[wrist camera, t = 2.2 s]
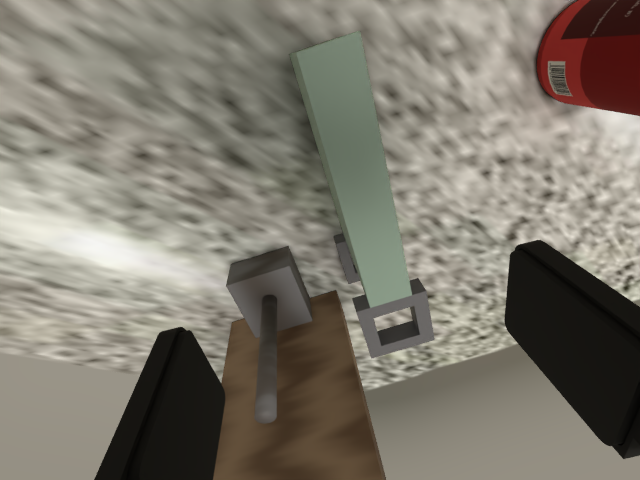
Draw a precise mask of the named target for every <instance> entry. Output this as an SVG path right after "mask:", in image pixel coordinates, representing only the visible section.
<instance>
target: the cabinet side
mask: <svg viewBox="0 0 640 480" xmlns="http://www.w3.org/2000/svg"><path fill="white" fill-rule="evenodd" d="M226 286H227V288H228V290H229V292H230V293H231V295H232V297H233V299H234V301H235V302H236V304H237V306H238V308H239V309H240V311H241V313H242V315H243V316H244V318H245V319H241V320H238V321H235V322H232V326H231V331H230V337H229V343H228V348H227V354H226V360H225V366H224V371H223V377H222V383H221V385H222V386H223V388H224V391H225V407H224V413H223V420H222V426H221V432H220V439H219V445H218V451H217V458H216V464H215V470H214V477H213V480H386V477H385V473H384V470H383V465H382V461H381V458H380V454H379V450H378V446H377V442H376V438H375V434H374V430H373V426H372V422H371V418H370V414H369V410H368V407H367V403H366V399H365V395H364V391H363V387H362V383H361V379H360V375H359V371H358V367H357V363H356V359H355V355H354V351H353V347H352V343H351V340H350V336H349V332H348V328H347V324H346V320H345V316H344V312H343V309H342V306H341V303H340V300H339V297H338V294H337V291H332V292H329V293H326V294H323V295H319V296H316V297H313V298H309V295H308V293H307V290H306V288H305V286H304V283H303V281H302V278H301V276H300V273H299V271H298V268H297V266H296V264H295V261H294V259H293V256H292V254H291V251H290V249H289V246H288V247H284V248H281V249H278V250H275V251H272V252H269V253H265V254H262V255H259V256H256V257H253V258H250V259H247V260H243V261H240V262H237V263H234V264H231V267H230V271H229V276H228V280H227V284H226Z"/></svg>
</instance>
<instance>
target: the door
mask: <svg viewBox="0 0 640 480" xmlns="http://www.w3.org/2000/svg"><path fill="white" fill-rule="evenodd" d="M289 55H290V58H291V62H292V65H293V68H294V72H295V75H296V78H297V82H298V85H299V88H300V92H301V95H302V98H303V102H304V105H305V108H306V112H307V115H308V118H309V122H310V125H311V128H312V132H313V135H314V138H315V141H316V145H317V148H318V151H319V155H320V158H321V161H322V165H323V168H324V171H325V175H326V178H327V181H328V185H329V188H330V191H331V195H332V198H333V201H334V205H335V208H336V211H337V215H338V218H339V221H340V225H341V228H342V231H343V234H340V235H337V236H334V240H335V243H336V246H337V250H338V253H339V256H340V259H341V262H342V265H343V268H344V271H345V275H346V278H347V281H348V284H351V283H354V282H357V281H361V284H362V286H363V289H364V292H365V295H361V296H358V297H355V298H352V299H353V302H354V306H355V309H356V312H357V315H358V318H359V321H360V325H361V328H362V331H363V334H364V337H365V340H366V343H367V346H368V349H369V352H370V356H371V358H375V357H378V356H382V355H385V354H388V353H392V352H395V351H398V350H402V349H405V348H409V347H412V346H415V345H419V344H422V343H425V342H429V341H432V340H434V334H433V328H432V322H431V316H430V310H429V304H428V298H427V292H426V290H425V288H424V286H423V285H422V283H421V282H420V280H419V279H418V278H417V279H414V280H410V281H409V276H408V271H407V266H406V261H405V256H404V251H403V246H402V241H401V236H400V231H399V226H398V221H397V216H396V211H395V206H394V200H393V195H392V190H391V185H390V180H389V175H388V170H387V165H386V160H385V155H384V150H383V145H382V140H381V135H380V130H379V125H378V120H377V115H376V109H375V104H374V99H373V94H372V89H371V84H370V79H369V74H368V69H367V64H366V59H365V54H364V49H363V44H362V39H361V34H360V31H358V32H354V33H351V34H348V35H345V36H342V37H338V38H335V39H332V40H329V41H326V42H323V43H320V44H317V45H314V46H311V47H309V48H306V49H303V50H300V51H297V52H294V53H291V54H289ZM349 251H350V253H349ZM350 254H351V256H352V259H353V262H354V265H353V263H352V260H351V256H350ZM408 307H410V309H411V314H412V319H413V321H410V322H407V323H404V324H400V325H397V326H394V327H390V328H387V329H384V330H380V331H377V329H376V326H375V322H374V319H373V318H375V317H379V316H382V315H385V314H388V313H392V312H395V311H398V310H402V309H405V308H408Z"/></svg>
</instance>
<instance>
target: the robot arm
mask: <svg viewBox="0 0 640 480" xmlns="http://www.w3.org/2000/svg"><path fill="white" fill-rule="evenodd" d="M505 325H506V328H507V330H508V332H509V333H510V334H511V336H512V337H513V338H514V339H515V340H516V341H517V343H518V344H519V345H520V346H521V347H522V349H523V350H524V351H525V352H526V353H527V354H528V356H529V357H530V358H531V359H532V360H533V361H534V363H535V364H536V365H537V366H538V367H539V369H540V370H541V371H542V372H543V373H544V374H545V376H546V377H547V378H548V379H549V380H550V381H551V383H552V384H553V385H554V386H555V387H556V389H557V390H558V391H559V392H560V393H561V394H562V396H563V397H564V398H565V399H566V400H567V402H568V403H569V404H570V405H571V406H572V407H573V409H574V410H575V411H576V412H577V413H578V414H579V416H580V417H581V418H582V419H583V420H584V421H585V423H586V424H587V425H588V426H589V427H590V429H591V430H592V431H593V432H594V433H595V435H596V436H597V437H598V438H599V439H600V440H601V441H602V442H603V443H604V444H606V445H608V446H613V448H614V449H615V450H616V451H617V452H618V453H619V455H620V456H621V457H622V458H623V459H625V458H630V457H634V456H639V455H640V307H639V306H637V305H636V304H634V303H633V302H632V301H630V300H629V299H627V298H626V297H624V296H623V295H621V294H620V293H618V292H617V291H615V290H614V289H612V288H611V287H610V286H608V285H607V284H605V283H604V282H602V281H601V280H599V279H598V278H596V277H595V276H593V275H592V274H590V273H589V272H588V271H586V270H585V269H583V268H582V267H580V266H579V265H577V264H576V263H574V262H573V261H571V260H570V259H568V258H567V257H566V256H564V255H563V254H561V253H560V252H558V251H557V250H555V249H554V248H552V247H551V246H549V245H548V244H546V243H545V242H543V241H541V240H536V241H532V242H528V243H524V244H520V245H518V246H516V248H515V251H513V252H512V253H511V254H510V263H509V274H508V286H507V298H506V309H505ZM224 407H225V391H224V388H223V386H222V385H221V383H220V381H219V379H218V377H217V376H216V374H215V372H214V370H213V369H212V367H211V365H210V363H209V361H208V360H207V358H206V356H205V354H204V353H203V351H202V349H201V347H200V345H199V344H198V342H197V340H196V338H195V337H194V335H193V333H192V332H191V331H190V330H188V331H186V330H185V329H184V328H183V327H178V328H174V329H170V330H166V331H162V332H160V333H159V335H158V336H157V339H156V341H155V343H154V346H153V348H152V350H151V352H150V355H149V357H148V359H147V361H146V364H145V366H144V368H143V370H142V373H141V375H140V377H139V380H138V382H137V384H136V386H135V389H134V391H133V393H132V395H131V398H130V400H129V402H128V405H127V407H126V409H125V411H124V414H123V416H122V418H121V421H120V423H119V425H118V427H117V430H116V432H115V434H114V436H113V438H112V441H111V443H110V446H109V448H108V450H107V452H106V454H105V457H104V459H103V461H102V463H101V466H100V468H99V470H98V472H97V475H96V477H95V479H94V480H213V477H214V470H215V464H216V458H217V451H218V445H219V439H220V432H221V426H222V420H223V413H224Z"/></svg>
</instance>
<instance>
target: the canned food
mask: <svg viewBox="0 0 640 480" xmlns="http://www.w3.org/2000/svg"><path fill="white" fill-rule="evenodd" d="M537 73H538V78H539V81H540V83H541V85H542V87H543V89H544V90H545V91H546V92H547V93H548V94H549V95H551V96H552V97H553V98H555V99H556V100H558V101H560V102H563V103H567V104H573V105H579V106H585V107H591V108H596V109H602V110H608V111H614V112H620V113H626V114H632V115H638V116H640V0H578V1H576V2H575V3H573V4H571V5H570V6H569V7H567V8H566V9H565V10H564V11H562V12H561V13H560V14H559V16H558V17H557V18H556V19H555V20H554V21H553V23H552V24H551V26H550V27H549V28H548V30H547V32H546V34H545V36H544V38H543V40H542V42H541V45H540V49H539V52H538V58H537Z"/></svg>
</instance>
